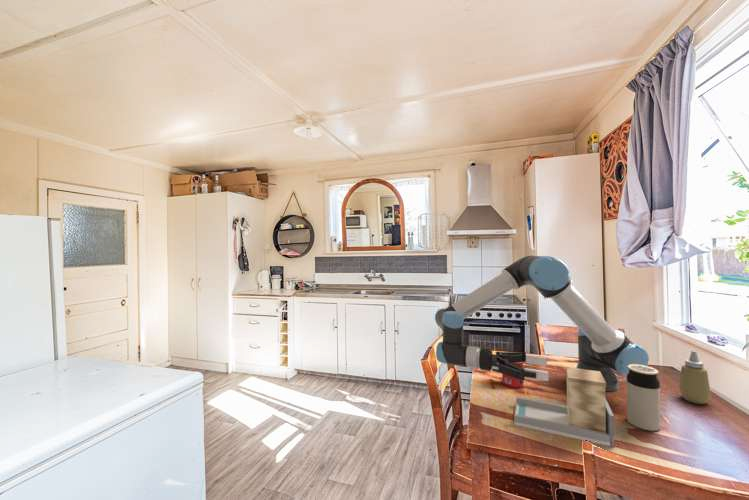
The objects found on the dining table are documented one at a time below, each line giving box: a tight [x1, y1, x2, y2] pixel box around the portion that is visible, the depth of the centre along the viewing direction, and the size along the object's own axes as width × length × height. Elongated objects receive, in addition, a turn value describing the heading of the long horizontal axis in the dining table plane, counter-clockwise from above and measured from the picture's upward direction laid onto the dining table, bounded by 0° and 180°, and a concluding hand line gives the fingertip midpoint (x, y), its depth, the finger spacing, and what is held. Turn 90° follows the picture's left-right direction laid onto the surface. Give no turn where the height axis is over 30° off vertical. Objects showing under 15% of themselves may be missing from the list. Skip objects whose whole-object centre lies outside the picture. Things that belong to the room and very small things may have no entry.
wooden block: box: [565, 366, 606, 433], centre depth 97 cm, size 9×9×16 cm
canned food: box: [501, 362, 524, 389], centre depth 128 cm, size 8×8×11 cm
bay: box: [513, 396, 615, 448], centre depth 100 cm, size 26×14×9 cm, turn 63°
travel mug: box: [626, 364, 661, 432], centre depth 98 cm, size 8×8×18 cm
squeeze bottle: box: [678, 350, 711, 405], centre depth 113 cm, size 8×8×18 cm
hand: (547, 368), depth 101 cm, fingers open, 13 cm apart
